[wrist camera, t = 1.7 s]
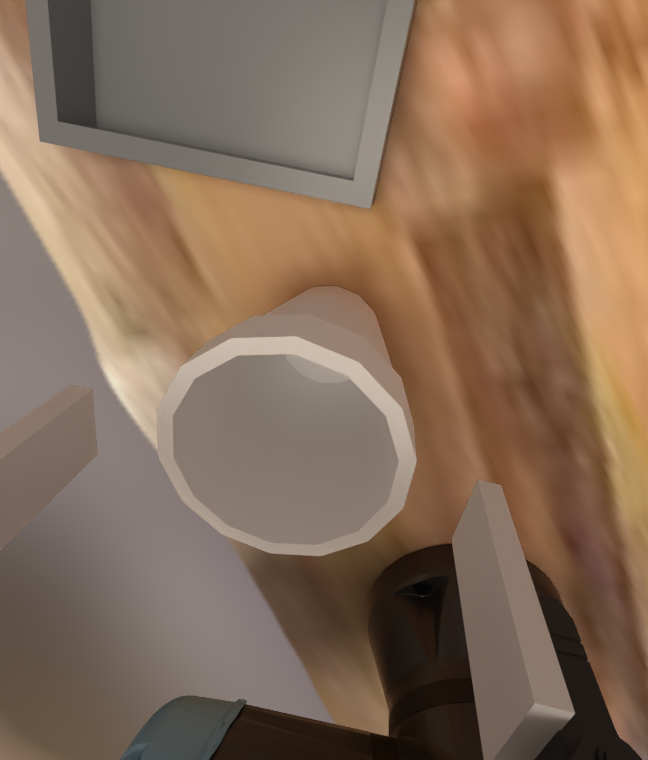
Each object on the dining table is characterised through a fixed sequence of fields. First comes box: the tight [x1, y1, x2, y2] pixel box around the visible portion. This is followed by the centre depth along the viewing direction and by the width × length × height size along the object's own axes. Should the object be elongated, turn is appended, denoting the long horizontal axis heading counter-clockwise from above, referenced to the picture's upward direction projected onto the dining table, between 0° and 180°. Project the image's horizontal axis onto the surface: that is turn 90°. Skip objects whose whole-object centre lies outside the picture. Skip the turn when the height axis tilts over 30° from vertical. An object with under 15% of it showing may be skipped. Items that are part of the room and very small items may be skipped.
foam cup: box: [157, 286, 417, 556], centre depth 22 cm, size 10×9×13 cm
